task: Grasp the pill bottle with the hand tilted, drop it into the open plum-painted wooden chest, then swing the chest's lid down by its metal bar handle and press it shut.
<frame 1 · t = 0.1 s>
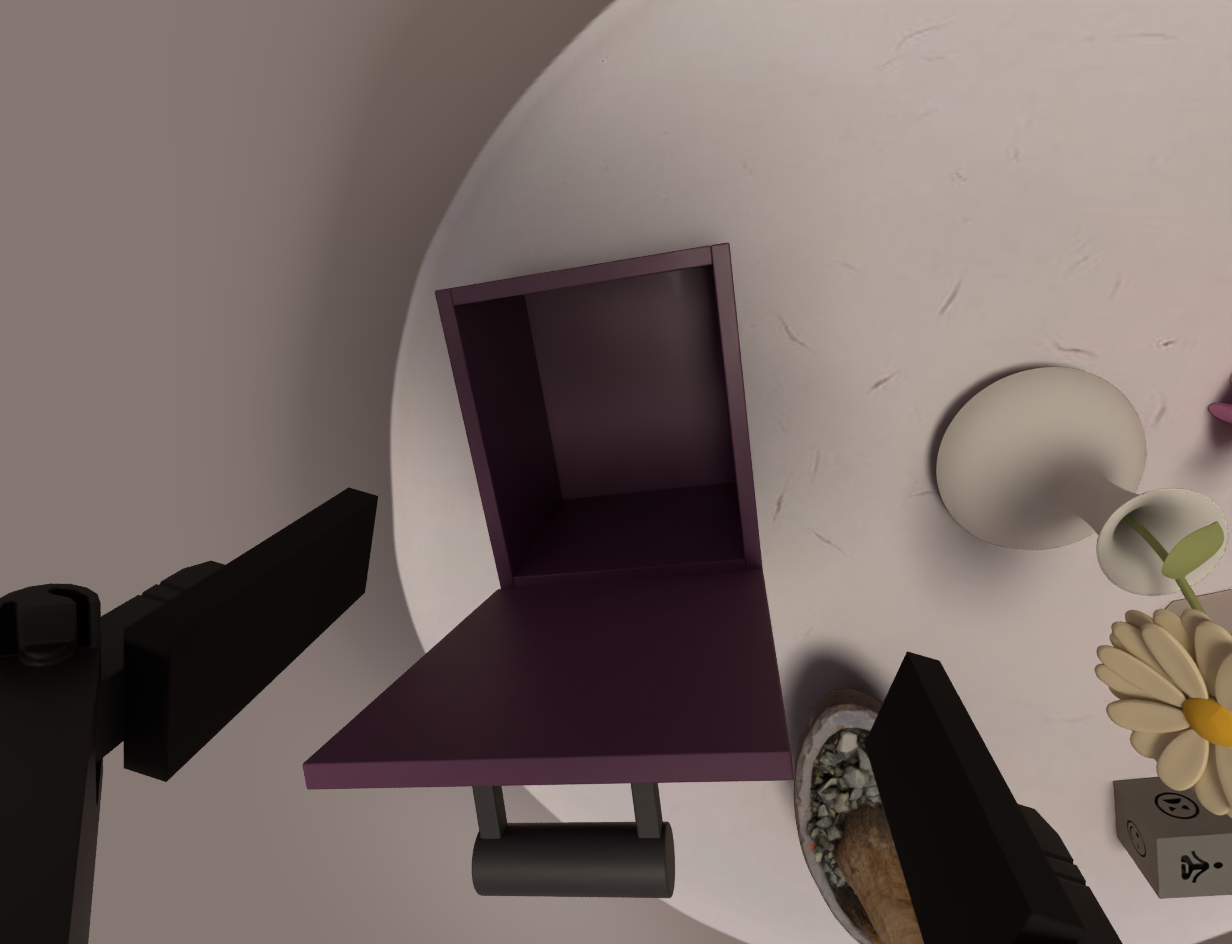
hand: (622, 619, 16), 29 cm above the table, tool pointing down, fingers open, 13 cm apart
lid: (601, 712, 26), point 22 cm above the table, hinge at 80.0°
dice cube: (1152, 804, 48), on the table
planter: (855, 752, 50), on the table
chest: (634, 386, 44), on the table
flower in vase: (1020, 465, 42), on the table
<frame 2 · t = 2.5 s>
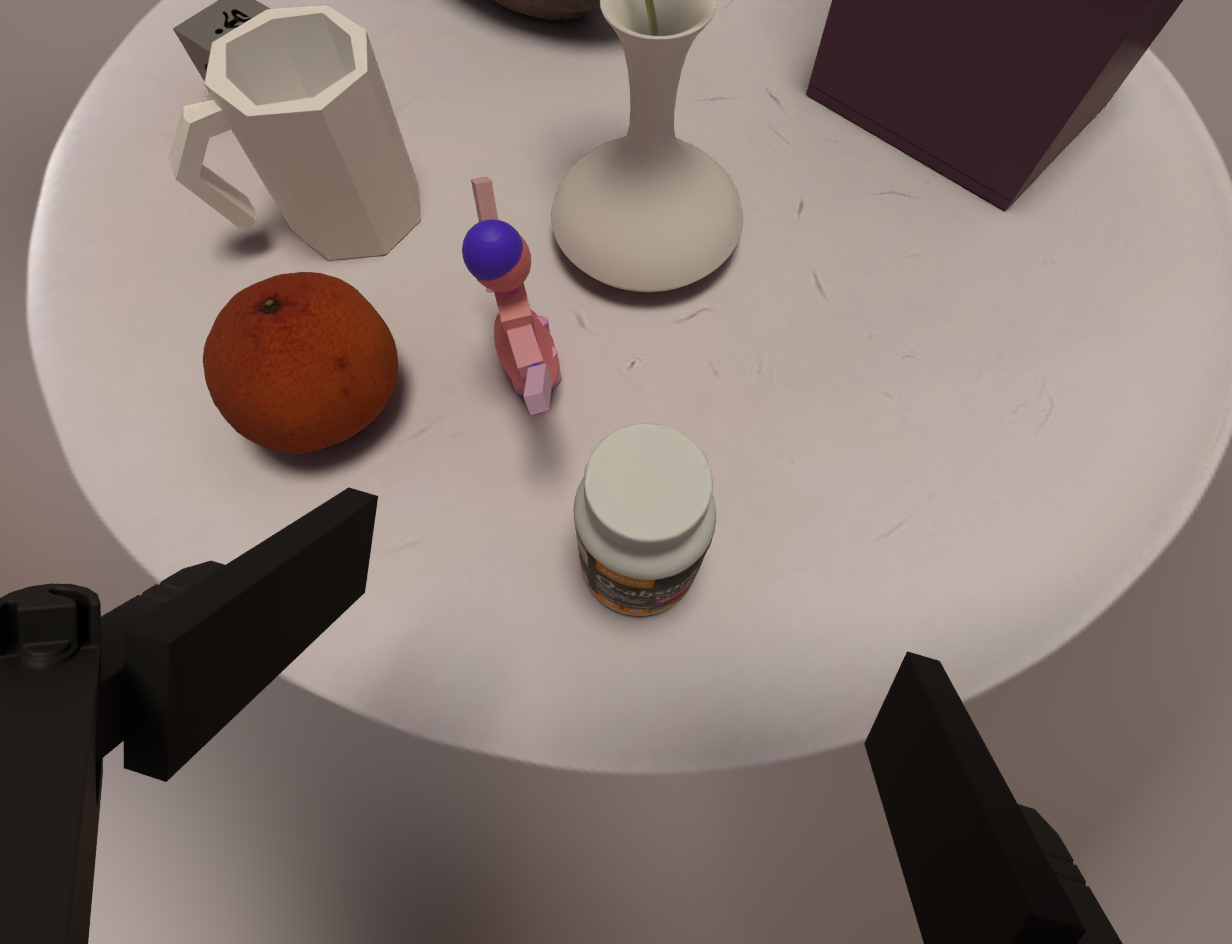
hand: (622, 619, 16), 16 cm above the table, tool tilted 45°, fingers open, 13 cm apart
dice cube: (269, 99, 47), on the table
pill bottle: (638, 561, 33), on the table
figurine: (534, 388, 37), on the table
chest: (955, 98, 47), on the table
mug: (330, 222, 42), on the table
flower in vase: (638, 227, 42), on the table
fruit: (331, 400, 37), on the table
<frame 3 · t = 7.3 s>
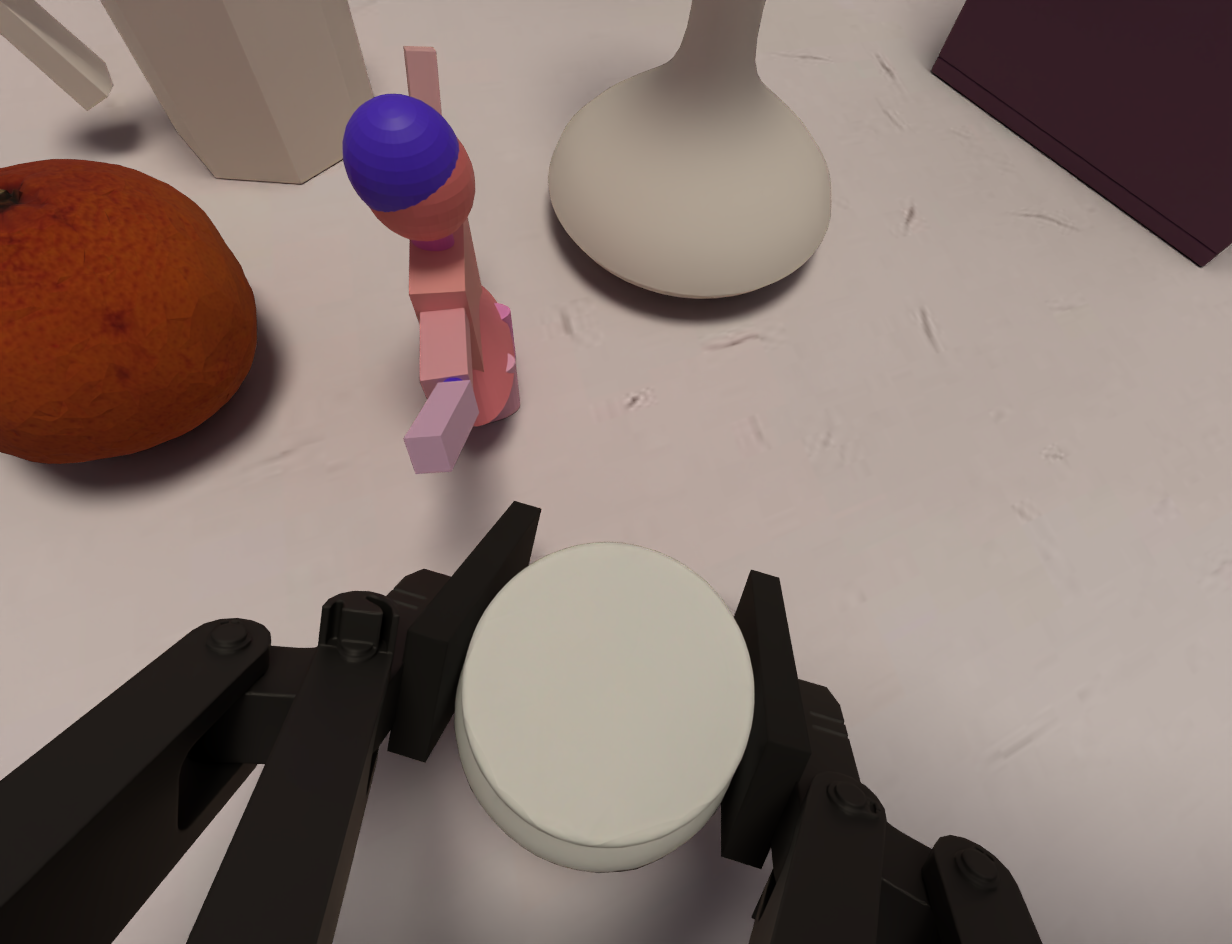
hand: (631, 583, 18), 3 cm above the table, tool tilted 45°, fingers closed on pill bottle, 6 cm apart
pill bottle: (588, 735, 20), on the table, touching gripper
figurine: (476, 414, 24), on the table
chest: (1133, 109, 34), on the table
mug: (236, 128, 29), on the table
flower in vase: (675, 206, 29), on the table
fruit: (157, 383, 24), on the table
when the fingers open (13 cm above the table, at t = 20.9 s): pill bottle drops 9 cm, resting on chest.
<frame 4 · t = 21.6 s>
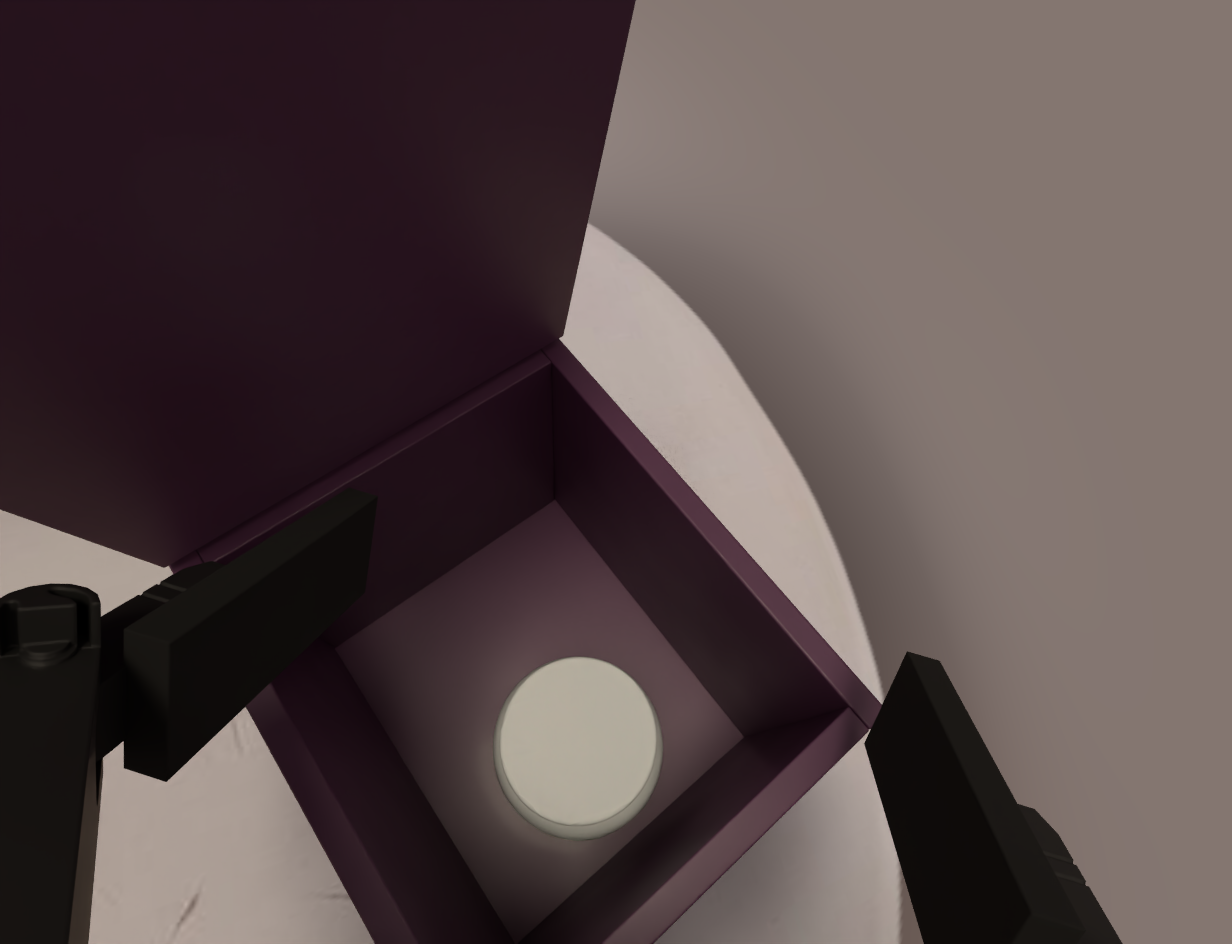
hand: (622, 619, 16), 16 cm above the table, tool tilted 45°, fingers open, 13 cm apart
lid: (245, 186, 13), point 22 cm above the table, hinge at 80.0°
pill bottle: (578, 752, 29), point 1 cm above the table, touching chest
chest: (538, 694, 30), on the table
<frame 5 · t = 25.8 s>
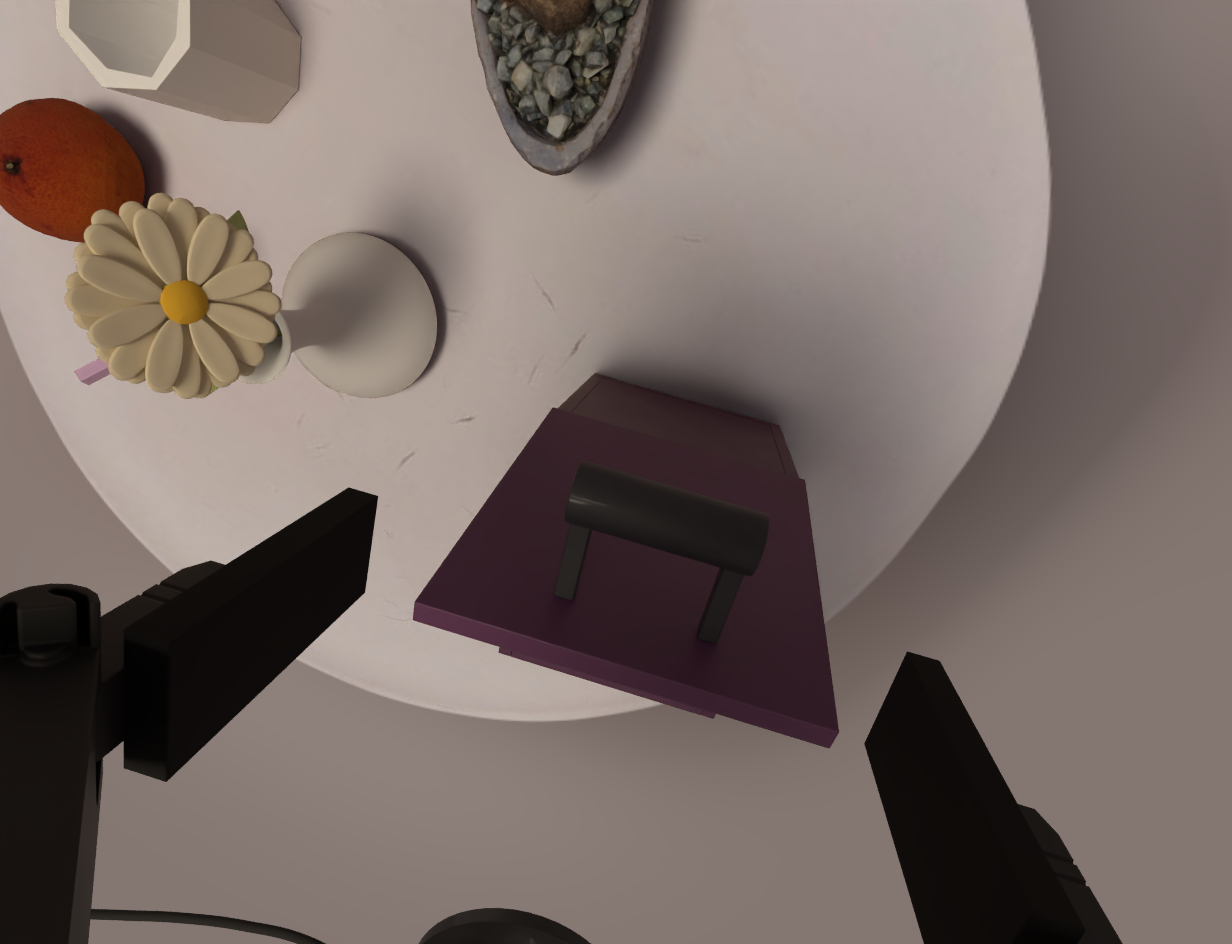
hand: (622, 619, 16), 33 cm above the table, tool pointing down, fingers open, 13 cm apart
lid: (670, 483, 27), point 22 cm above the table, hinge at 80.0°
planter: (591, 8, 41), on the table
figurine: (214, 311, 51), on the table
chest: (657, 498, 50), on the table
mug: (221, 42, 45), on the table
flower in vase: (376, 306, 49), on the table
fruit: (114, 178, 49), on the table
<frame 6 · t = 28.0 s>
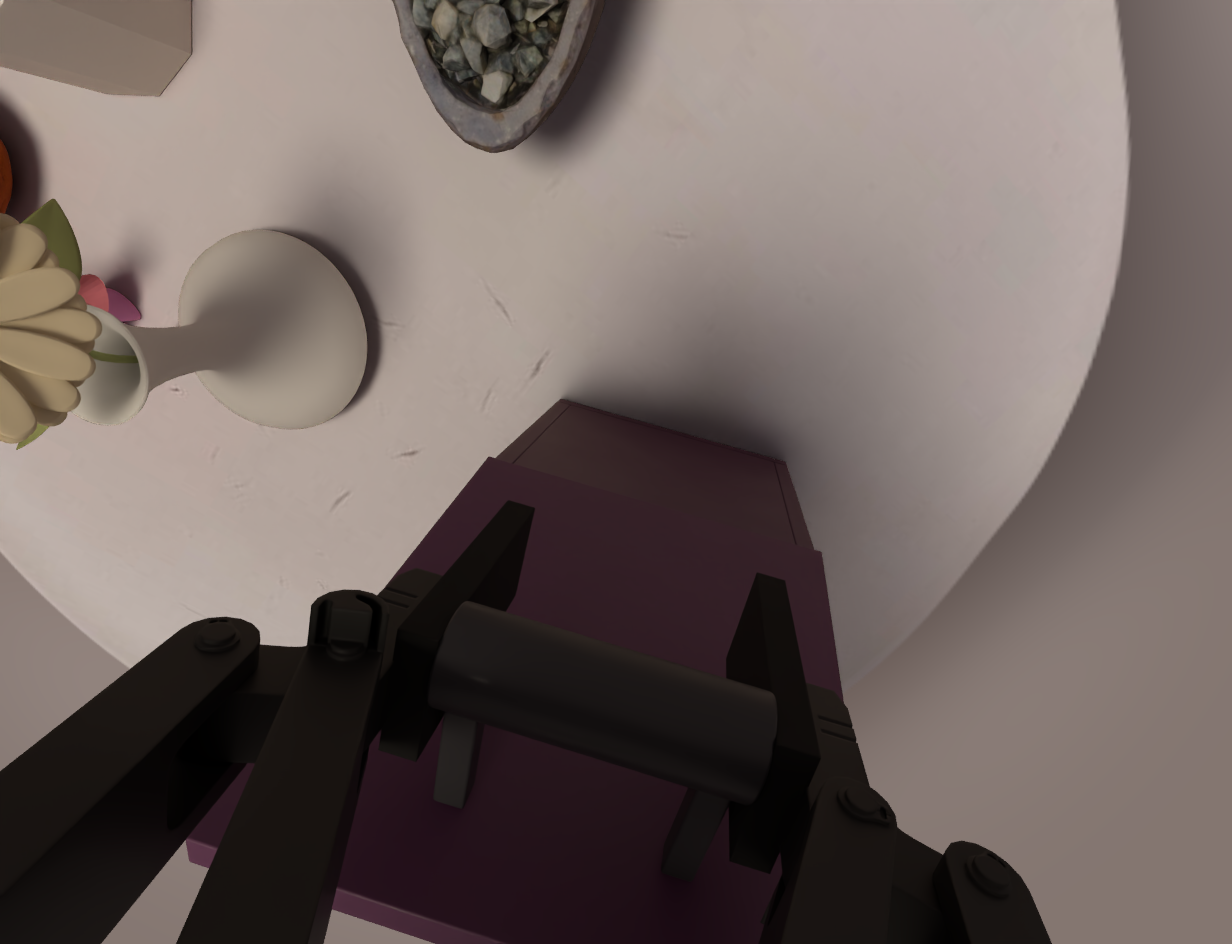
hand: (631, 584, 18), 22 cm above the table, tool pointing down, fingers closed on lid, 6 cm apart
lid: (630, 589, 18), point 22 cm above the table, hinge at 80.0°, touching gripper
figurine: (108, 325, 43), on the table
chest: (638, 547, 42), on the table
flower in vase: (297, 318, 41), on the table
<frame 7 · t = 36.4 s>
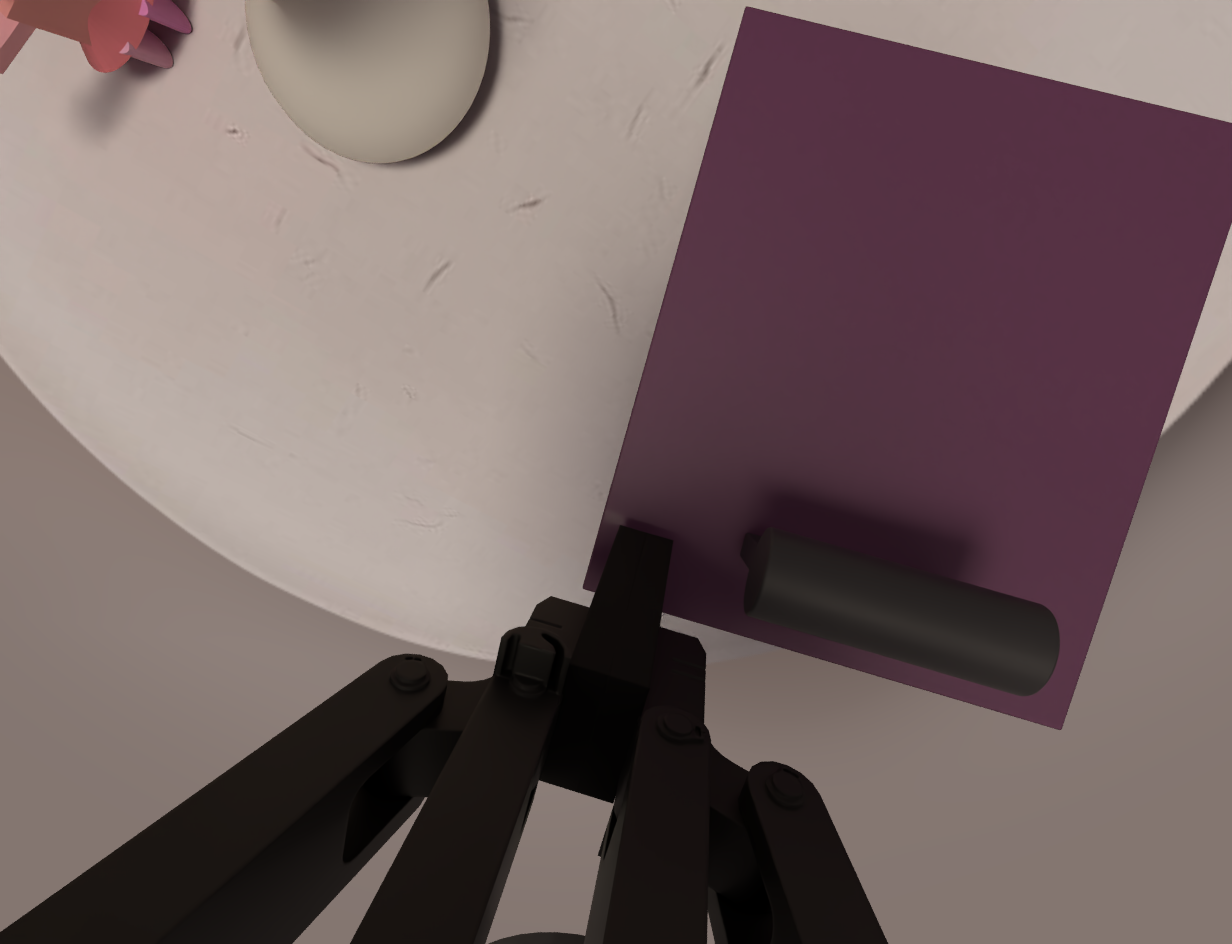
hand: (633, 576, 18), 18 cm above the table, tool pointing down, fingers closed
lid: (936, 362, 16), point 18 cm above the table, hinge at 15.3°
figurine: (149, 46, 34), on the table
flower in vase: (393, 20, 32), on the table
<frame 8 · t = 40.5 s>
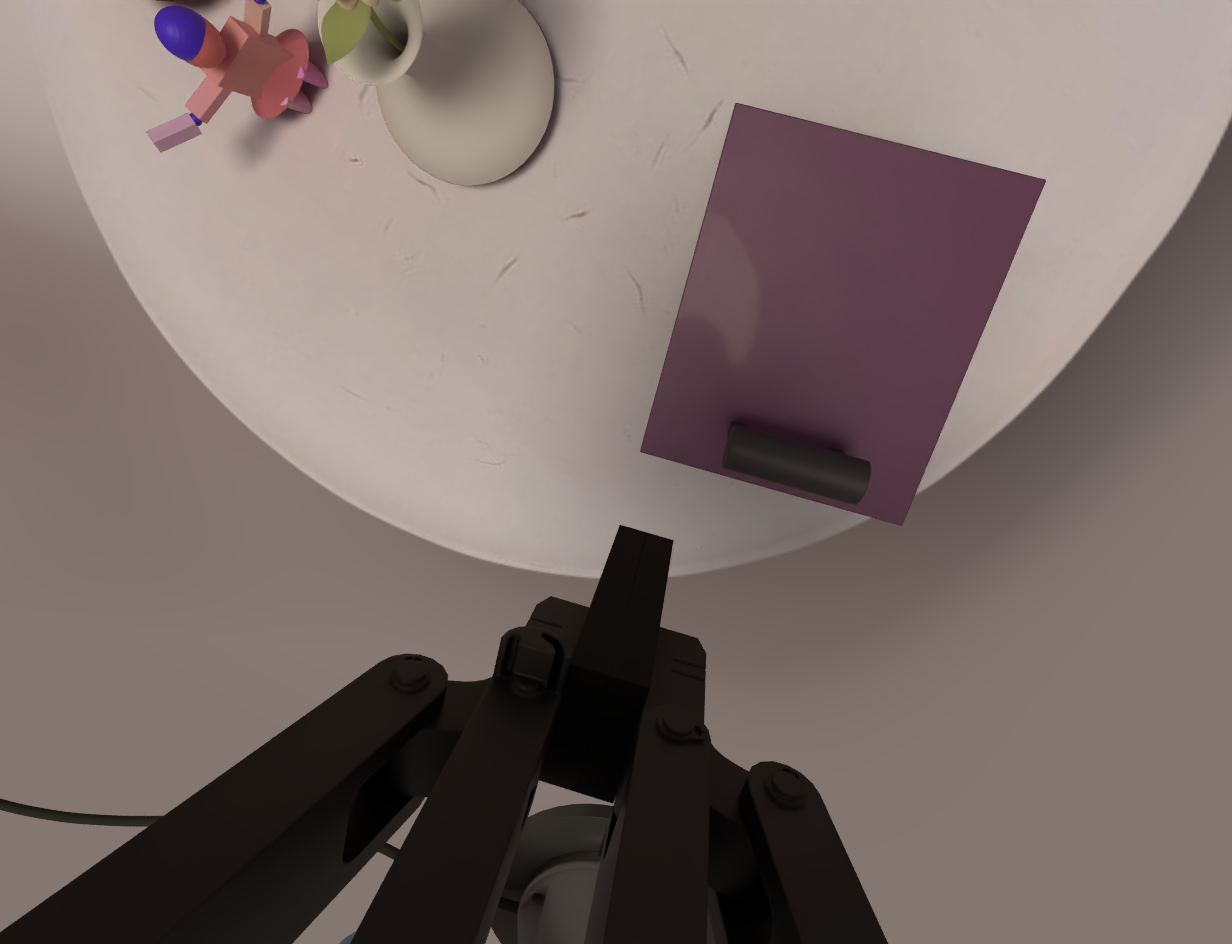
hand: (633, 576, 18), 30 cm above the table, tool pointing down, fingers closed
lid: (832, 332, 29), point 16 cm above the table, hinge at 1.5°
figurine: (293, 96, 45), on the table
flower in vase: (479, 80, 43), on the table
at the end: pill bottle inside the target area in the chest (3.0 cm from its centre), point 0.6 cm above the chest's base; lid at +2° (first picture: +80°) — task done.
